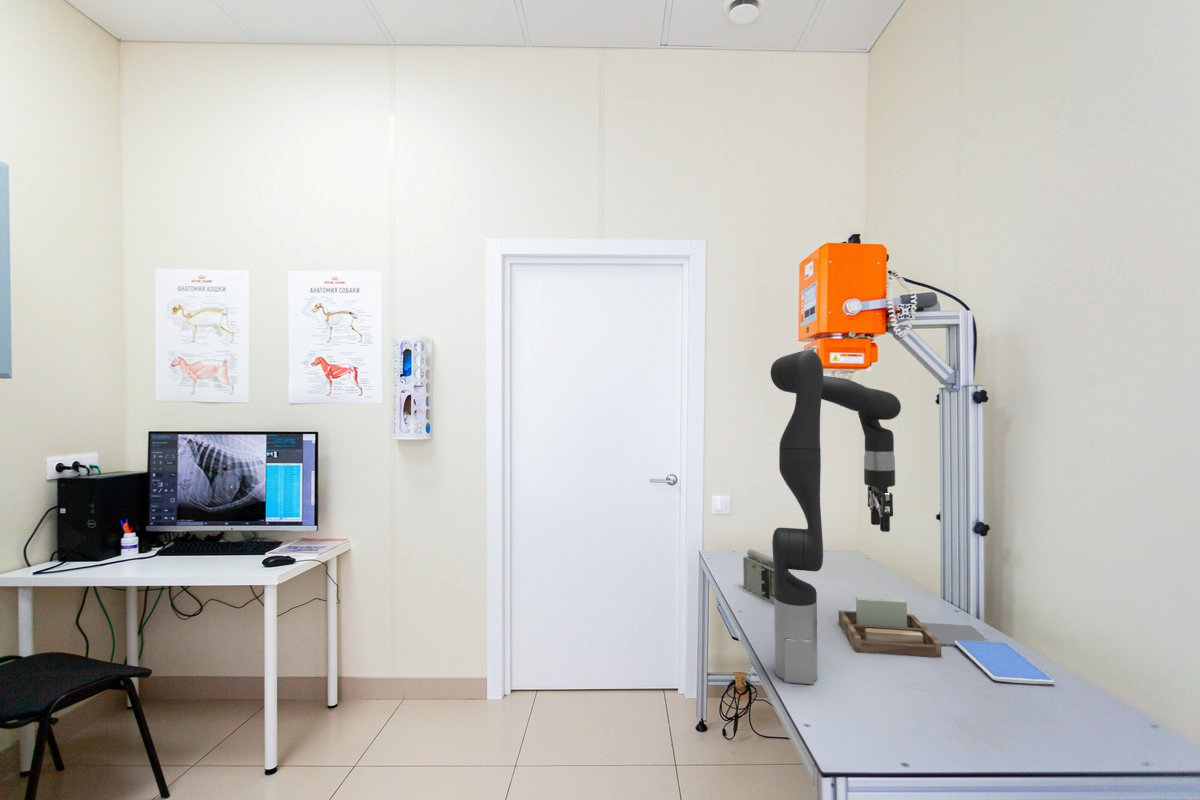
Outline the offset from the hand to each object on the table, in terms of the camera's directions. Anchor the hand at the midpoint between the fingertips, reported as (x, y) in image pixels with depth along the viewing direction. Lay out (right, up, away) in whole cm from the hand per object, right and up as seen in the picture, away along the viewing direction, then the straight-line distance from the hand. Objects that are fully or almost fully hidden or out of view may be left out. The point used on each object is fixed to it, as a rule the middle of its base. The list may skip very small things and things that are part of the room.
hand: (880, 528), depth 153 cm
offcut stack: (-1, -28, -9) cm, 30 cm away
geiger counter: (-21, -29, +26) cm, 44 cm away
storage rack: (-1, -28, -4) cm, 28 cm away
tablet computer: (+19, -28, -19) cm, 39 cm away
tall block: (0, -28, 0) cm, 28 cm away
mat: (+18, -28, -3) cm, 33 cm away
